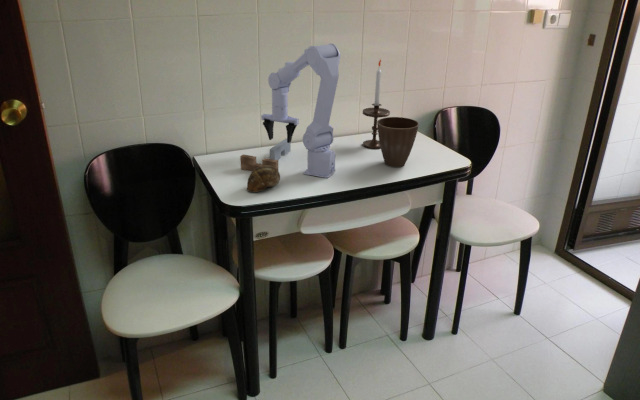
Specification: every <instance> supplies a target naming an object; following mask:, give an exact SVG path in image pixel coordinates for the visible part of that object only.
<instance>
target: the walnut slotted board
mask: <svg viewBox="0 0 640 400" xmlns="http://www.w3.org/2000/svg"><path fill="white" fill-rule="evenodd" d="M239 157H240V159H239V160H240V170H244V171H248V172H252V171H253V170H255V169H256V168H257V167H259V166H262V165H263V166H264V165H269V166H273V167H275V168H276V169H277V170H278V171H279V160H273V159H270V158H267V157H265V158H263V159H262V161H261V162H262V163H258V162H257V156H255V155H249V154H241V155H240V156H239Z"/></svg>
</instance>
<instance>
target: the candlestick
mask: <svg viewBox="0 0 640 400" xmlns="http://www.w3.org/2000/svg"><path fill="white" fill-rule="evenodd" d="M381 62H382V60H381V59H379V61H378V68H377V70H376V73H375V74H376V75H375V89H374V91H375V93H374V103H372V104H371V105H372V106H373V107H367V108H364V109H362V114H363V116H366V117H369V118H373V125H372V126H371V130H372V132H371V135H372V139H366V140H363V142H362V146H363V147H364V148H365V149H368V150H369V149H371V150H381V147H380V142H379V139H377V135H378V126H377V121H378V119H379V118H387V117H390V114H391V111H390V110H389V109H387V108H382V107H381V106H382V104H381V103H380V99H381V98H380V97H381V96H380V95H381V83H382V70H381Z"/></svg>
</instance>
